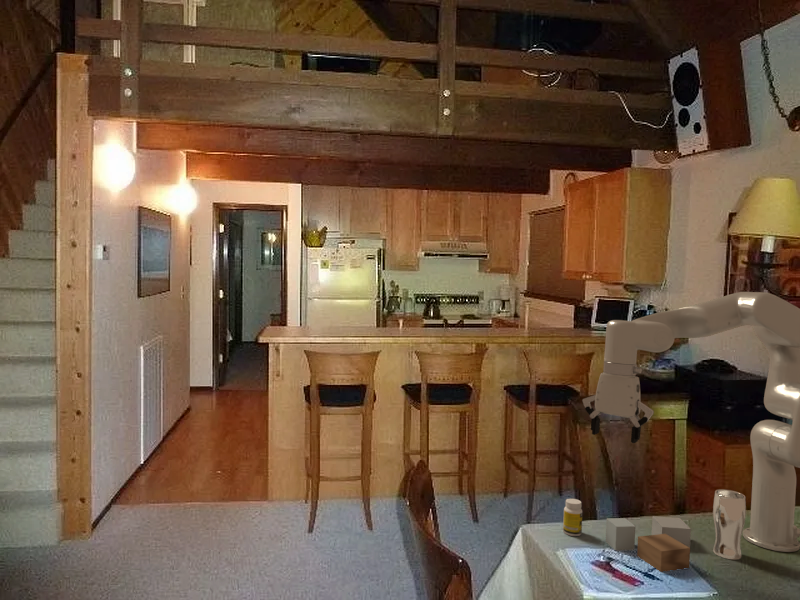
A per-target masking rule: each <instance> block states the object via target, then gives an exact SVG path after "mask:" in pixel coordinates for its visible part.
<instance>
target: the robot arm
mask: <svg viewBox="0 0 800 600" xmlns="http://www.w3.org/2000/svg"><path fill="white" fill-rule="evenodd" d="M745 326H750V327H751V326H752V330H753V333H754V335H755V336H756V338H757V339H758V340H759V341H760V342H761V343H762V344H763V346H764V347H765V349H766V351H767V353H768V356H769V357H768V358H769V367H768V373H767V379H766V383H765V389H764V395H763V396H764V397H763V404H764V407H765V409H766V410H767V411H768V412H770V413H771V414H773V415H775V416H778V417H782V418H785V419H789V420H791V421H792V422H791V423H792V424H789V423H786V422H784V421H780V420H775V419H764V420H760V421H759V422H757V423H756V424H754V426H753V427H752V429H751V431H750V437H749V438H750V441H749V442H750V447H751V453H752V465H753V466H752V480H751V481H752V483H751V485H752V487H751V499H750V500H751V503H750V520H749V521H750V524H749V527H746V528H743V531H742V536H743V537H744V539H745V540H746V541H748V542H749V543H751V544H753V545H756V546H758V547H761V548H764V549H768V550H772V551H776V552H784V553H792V552H797V551H799V550H800V541H799V540H798V538H799V537H800V528H798V527H797V525H795V511H796V508H795V507H796V492H797V490H796V489H797V474H796V469H795V468H799V469H800V308H799V307H798V306H796V305H795V304H792V303H790V302H788V301H787V300H785V299H783V298H782V297H779V296H777V295H775V294H772V293H769V292H765V291H764V292H759V291H754V292H753V291H739V292H734V293H731V294H727V295H725V296H721V297H718V298H715V299H714V298H713V299H711V300H707V301H704V302H701V303H698V304H694V305H687V306H683V307H679V308H674V309H669V310H664V311H660V312H656V313H651V314H648V315H645V316H641V317H639V318H636V319H633V320H623V319H612V320H609V321H608V322H607V323H606V329H605V340H604V341H605V342H604V343H605V344H604V356H603V357H604V358H603V372H601V373H600V375H599V378H598V381H597V387H596V389H595V390H596V391H595V394H594V395H590V396H588V397H585V398H582V400H581V401H582V403H583V406H584V408H585V411H586V412H587V414H588V416H589V418H590V419H591V420H590V421H591V422H590V430H591V435H593V436H594V435H598V434H599V433H600V430H601V429H600V426H601V418H600V415H602V414H604V415H605V414H606V415H610V416H616V417H622V418H627V419H628V418H629V420H630V421H631V423H632V424H633V426H632V427H631V435H630V436H631V437H630V443H632V444H635V443H637V442H639V440H640V439H641V432H642V431H641V429H642V426H643V425H644V424H646V423H648V422H649V420H650V419H651V417H652V416H653V415H654V410H653V409H652V408H650V407H649V406H647V405H646V404H644V403H643V402H641V384H640V377H638V376H636V375H637V374H642V371H643V368H642V367H638V364H637V358H638V357H637V356H638V354H637V353H638V351H645V352H650V353H663V352H666V351H667V350H669V349H670V348H671V347H672V346H673V344H674V342H675V339H683V338H685V339H687V338H689V339H699V338H706V337H711V336H715V335H717V334H720V333H723V332H727V331H730V330H733V329H736V328H740V327H745ZM591 402H594V408H593V407H592V405H591ZM641 411H642V412H644V415H643V417H642V418H640V413H641Z"/></svg>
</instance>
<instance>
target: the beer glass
mask: <svg viewBox="0 0 800 600" xmlns="http://www.w3.org/2000/svg"><path fill="white" fill-rule="evenodd" d="M746 503H747V502H746V496H745V495H744V494H743V493H741V492H738V491H735V490H731V489H716V490H715V491H714V497H713V506H712V508H713V509H712V515H713V523H714V531H715V541H714V545H713V549H712V550H713V553H714V554H715V555H717V556H718V557H720V558H722V559H727V560H733V561H735V560H736V561H737V560H741V559H742V551H741V539H742V536H743V530H744V526H745V522H746V514H747V513H746V512H747V506H746V505H747V504H746Z"/></svg>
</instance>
